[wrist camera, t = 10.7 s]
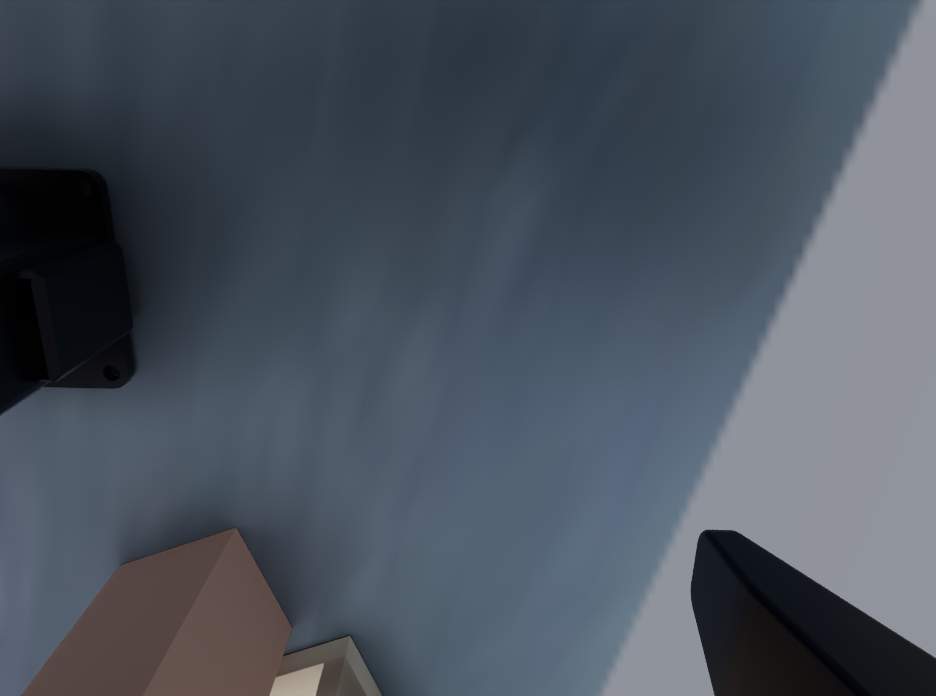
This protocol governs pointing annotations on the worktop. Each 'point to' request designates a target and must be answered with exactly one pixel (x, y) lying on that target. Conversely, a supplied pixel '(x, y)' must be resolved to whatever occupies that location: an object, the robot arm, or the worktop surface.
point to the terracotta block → (175, 629)
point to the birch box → (325, 672)
